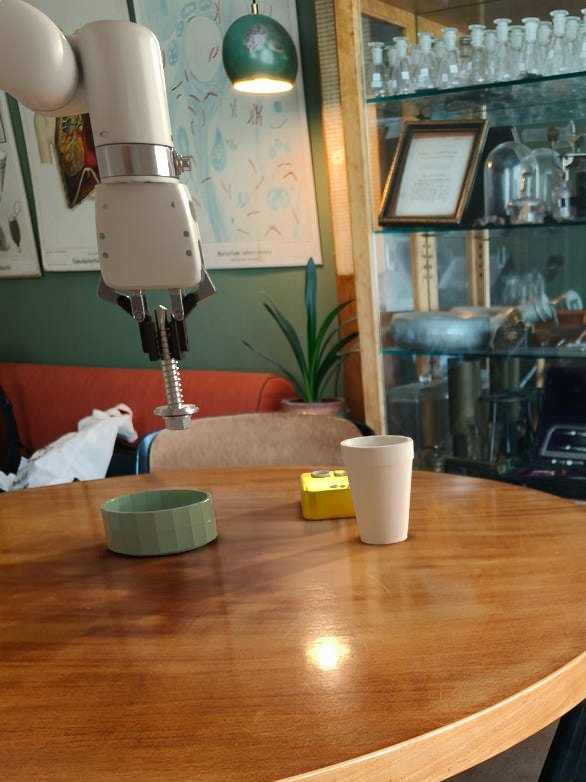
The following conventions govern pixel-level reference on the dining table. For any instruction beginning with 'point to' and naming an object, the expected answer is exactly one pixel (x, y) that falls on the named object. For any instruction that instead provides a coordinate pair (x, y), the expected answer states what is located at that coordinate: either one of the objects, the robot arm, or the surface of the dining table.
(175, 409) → the screw
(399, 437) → the foam cup
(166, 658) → the dining table surface
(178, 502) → the bowl
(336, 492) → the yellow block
